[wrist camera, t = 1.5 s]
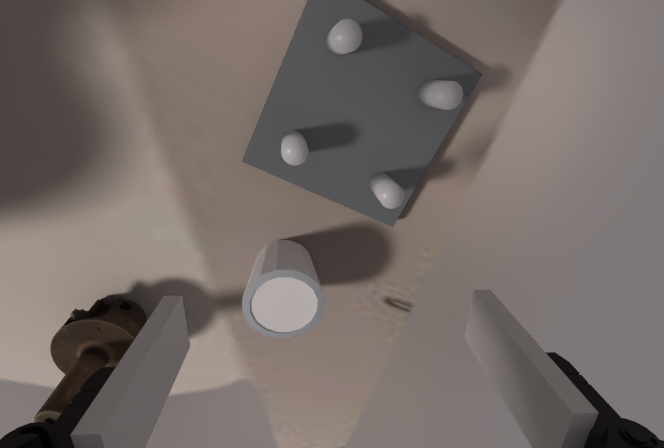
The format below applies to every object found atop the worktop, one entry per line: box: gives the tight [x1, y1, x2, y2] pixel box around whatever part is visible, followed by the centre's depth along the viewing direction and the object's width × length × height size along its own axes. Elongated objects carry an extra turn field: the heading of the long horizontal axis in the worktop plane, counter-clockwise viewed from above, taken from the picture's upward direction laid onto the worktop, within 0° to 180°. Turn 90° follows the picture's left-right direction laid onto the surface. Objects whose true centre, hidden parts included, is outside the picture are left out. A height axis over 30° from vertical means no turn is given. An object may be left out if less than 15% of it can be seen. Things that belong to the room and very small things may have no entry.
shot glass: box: [242, 240, 325, 338], centre depth 33 cm, size 7×7×7 cm
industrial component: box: [34, 299, 146, 427], centre depth 30 cm, size 9×7×12 cm
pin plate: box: [242, 0, 482, 227], centre depth 29 cm, size 15×15×6 cm
